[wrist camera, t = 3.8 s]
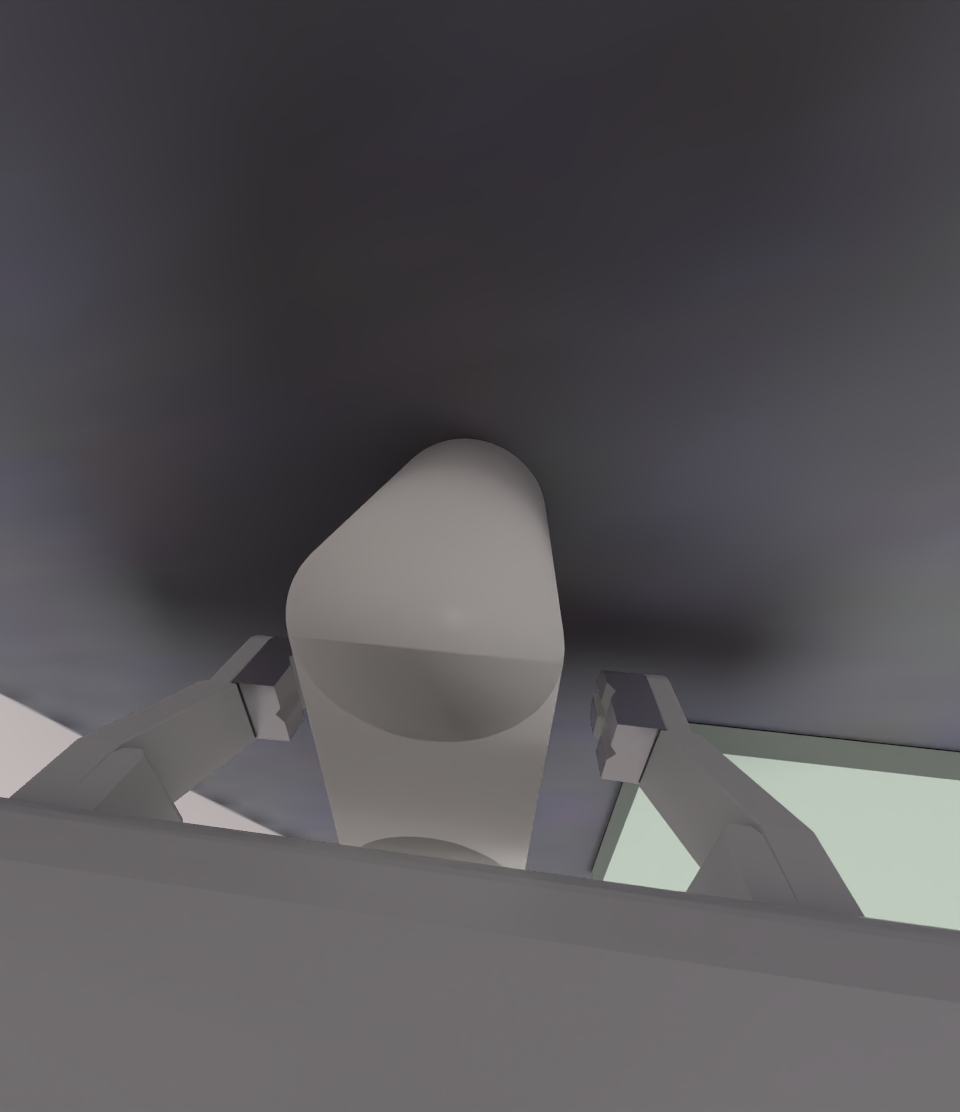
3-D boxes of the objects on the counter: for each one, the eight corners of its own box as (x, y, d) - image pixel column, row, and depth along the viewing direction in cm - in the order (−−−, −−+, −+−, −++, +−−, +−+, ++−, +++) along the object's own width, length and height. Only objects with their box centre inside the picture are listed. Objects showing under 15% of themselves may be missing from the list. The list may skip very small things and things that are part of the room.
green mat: (645, 718, 12) (654, 746, 12) (1124, 770, 12) (1174, 804, 11) (591, 872, 17) (595, 900, 16) (929, 918, 16) (952, 950, 15)
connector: (385, 433, 9) (257, 507, 5) (555, 444, 9) (587, 532, 4) (411, 788, 16) (367, 958, 11) (509, 800, 15) (504, 979, 11)
